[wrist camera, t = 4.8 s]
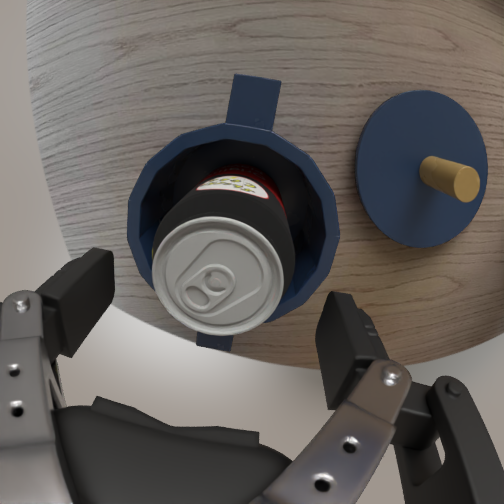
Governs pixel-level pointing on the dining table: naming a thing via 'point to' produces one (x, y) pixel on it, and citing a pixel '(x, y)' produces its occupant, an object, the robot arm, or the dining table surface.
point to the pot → (250, 153)
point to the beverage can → (224, 252)
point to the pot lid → (421, 168)
